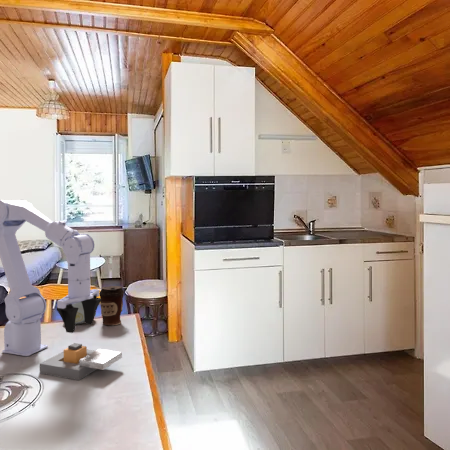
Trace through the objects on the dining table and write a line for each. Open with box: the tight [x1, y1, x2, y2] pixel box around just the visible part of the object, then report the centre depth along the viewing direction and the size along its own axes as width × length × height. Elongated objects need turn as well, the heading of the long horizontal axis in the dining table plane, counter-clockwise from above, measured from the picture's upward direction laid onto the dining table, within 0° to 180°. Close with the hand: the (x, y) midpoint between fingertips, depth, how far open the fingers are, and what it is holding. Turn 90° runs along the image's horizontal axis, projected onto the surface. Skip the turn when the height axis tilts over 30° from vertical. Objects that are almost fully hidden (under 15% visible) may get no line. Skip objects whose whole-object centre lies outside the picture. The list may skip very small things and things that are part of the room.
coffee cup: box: [99, 285, 125, 326], centre depth 142 cm, size 9×8×13 cm
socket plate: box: [39, 349, 97, 381], centre depth 105 cm, size 12×12×2 cm
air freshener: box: [72, 302, 97, 325], centre depth 144 cm, size 11×8×10 cm
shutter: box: [79, 348, 123, 371], centre depth 102 cm, size 7×8×2 cm
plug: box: [63, 342, 88, 364], centre depth 105 cm, size 4×4×6 cm
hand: (79, 327), depth 110 cm, fingers open, 7 cm apart
